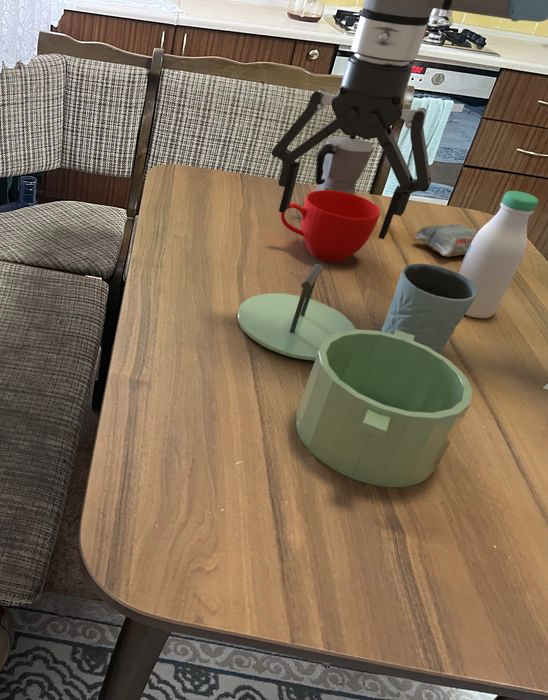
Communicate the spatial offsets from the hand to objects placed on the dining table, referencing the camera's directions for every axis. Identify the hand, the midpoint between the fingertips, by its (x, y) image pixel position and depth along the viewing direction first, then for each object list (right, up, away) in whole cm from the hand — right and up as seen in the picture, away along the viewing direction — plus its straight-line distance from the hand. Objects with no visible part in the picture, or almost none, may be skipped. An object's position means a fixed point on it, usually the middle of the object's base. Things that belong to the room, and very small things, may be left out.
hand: (331, 222), depth 94 cm
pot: (0, -28, -10) cm, 30 cm away
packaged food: (+37, +1, +39) cm, 54 cm away
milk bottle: (+31, -11, +21) cm, 39 cm away
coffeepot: (+17, +11, +50) cm, 54 cm away
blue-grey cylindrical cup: (+15, -18, +8) cm, 24 cm away
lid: (-2, -14, +10) cm, 17 cm away
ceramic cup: (+9, +1, +34) cm, 35 cm away
